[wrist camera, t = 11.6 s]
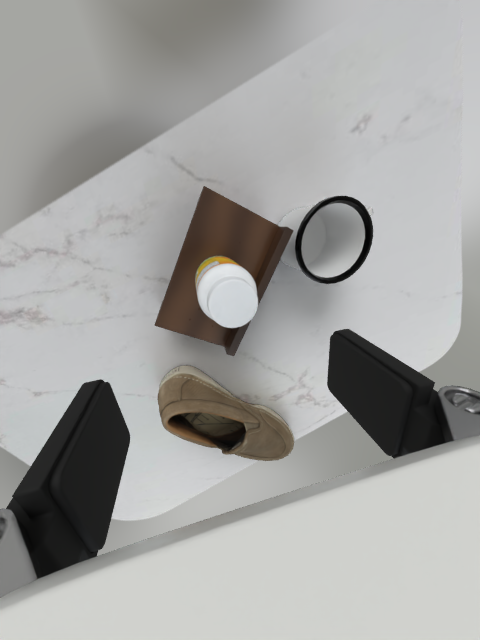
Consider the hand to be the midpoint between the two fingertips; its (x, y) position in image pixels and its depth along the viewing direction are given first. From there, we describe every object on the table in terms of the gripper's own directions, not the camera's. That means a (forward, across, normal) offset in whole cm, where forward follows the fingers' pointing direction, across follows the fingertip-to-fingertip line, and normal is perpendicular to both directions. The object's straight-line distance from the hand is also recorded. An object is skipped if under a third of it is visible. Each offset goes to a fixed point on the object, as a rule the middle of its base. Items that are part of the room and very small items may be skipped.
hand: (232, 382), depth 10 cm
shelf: (+26, -2, 0) cm, 26 cm away
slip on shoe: (+26, -2, +26) cm, 37 cm away
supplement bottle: (+19, -2, 0) cm, 19 cm away
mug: (+26, -17, -3) cm, 31 cm away
